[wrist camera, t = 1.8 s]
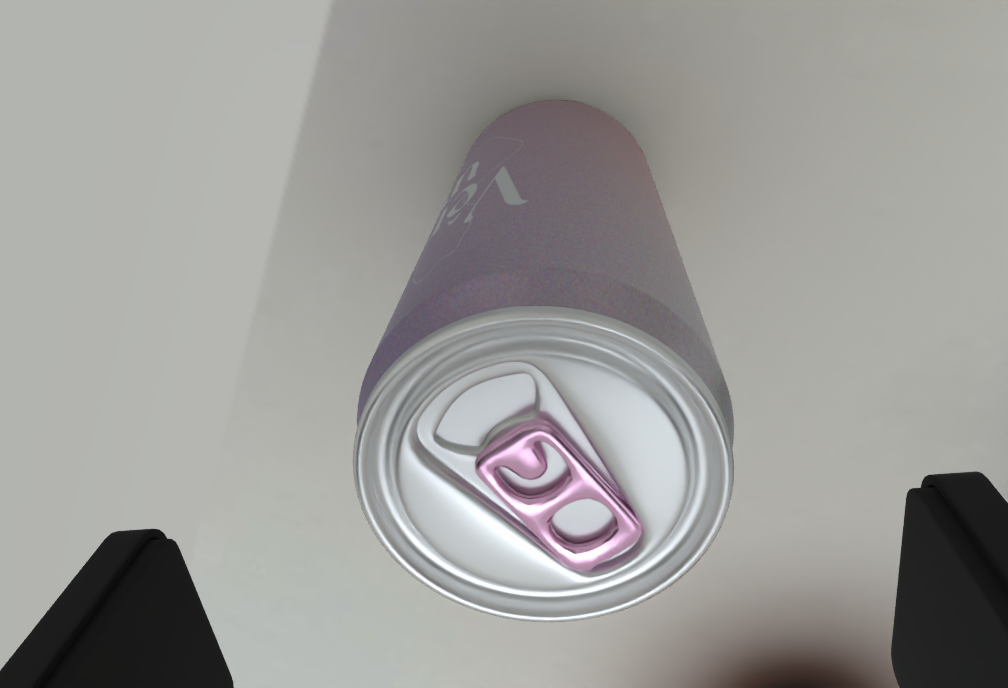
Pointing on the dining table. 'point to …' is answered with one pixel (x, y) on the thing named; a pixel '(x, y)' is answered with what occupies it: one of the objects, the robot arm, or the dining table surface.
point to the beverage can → (547, 385)
